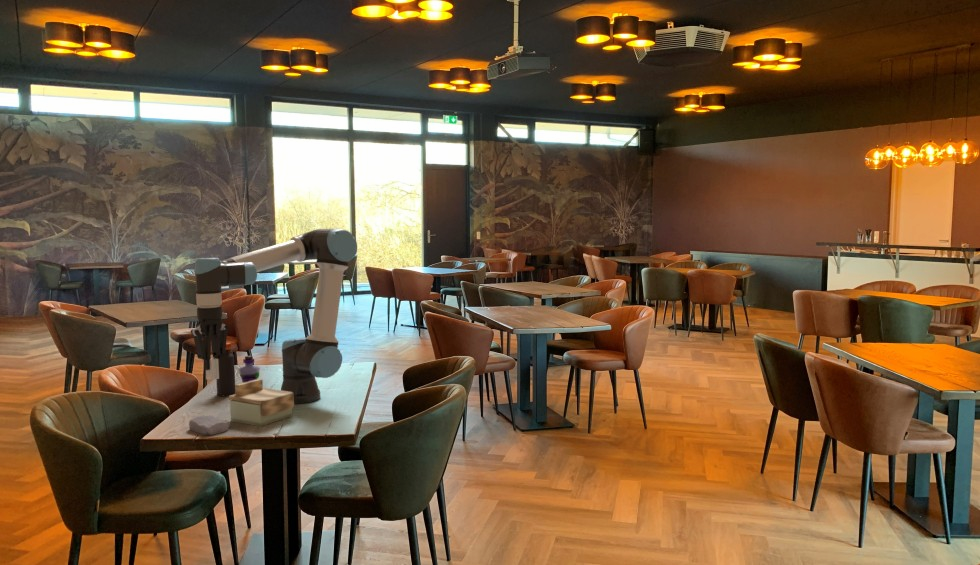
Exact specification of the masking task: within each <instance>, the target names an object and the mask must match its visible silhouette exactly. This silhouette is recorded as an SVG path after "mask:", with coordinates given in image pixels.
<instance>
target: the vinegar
mask: <svg viewBox="0 0 980 565" xmlns="http://www.w3.org/2000/svg"><path fill="white" fill-rule="evenodd" d="M231 351H232V343H231V342H226V350H225V355H222V358H220V368H219V379H215V380H216V395H217V396H219V397H229V396H230V395H234V394H236V389H235V385H236V373H235V372H236V370H235V369H236V368H235V356H234V354H233V353H232V352H231Z"/></svg>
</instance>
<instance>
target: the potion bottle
mask: <svg viewBox="0 0 980 565" xmlns="http://www.w3.org/2000/svg"><path fill="white" fill-rule="evenodd" d="M242 363H243V364H244V366H243V367H240V368H238V372H239V377H241V383H244V382H248V381H252V380H256V379H259V377H260V369H261V367H260V366H257V365H253V364H254V363H255V359H254V358H253V355H246V356H244V359H243V360H242Z"/></svg>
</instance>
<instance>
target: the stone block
mask: <svg viewBox="0 0 980 565" xmlns="http://www.w3.org/2000/svg"><path fill="white" fill-rule="evenodd" d="M230 424H231V423H230V420H227V419H224V420H223V419H220V418H219V417H216V416H213V415H198V416H195V417H193V418H191V419H190V420H189V422H188V428H189V431H192V432H195V433H196V434H200V435H203V436H212V435H216V434H218V433H219V434H220V433H222V432H223V433H224V432H227V431H228V429H229V428H230Z"/></svg>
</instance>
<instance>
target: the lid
mask: <svg viewBox="0 0 980 565" xmlns="http://www.w3.org/2000/svg"><path fill="white" fill-rule="evenodd" d="M263 382H264V381H263V379H261V378H260V379H259V378H258V379H256V380H252V381H248V382H244V383H243V382H241V383H237V384H236V383H235V392H236V393H235V394H234V395H230V396H228V400H229V401H230V400H235V401H241V402H247V403H253V404H259V405H261V404H262V416H267V415H270V414H274V413H277V412H280V411H283V410H286V409H290V408H292V409H293V408H295V404H294V393H292V392H289V391H282V390H281V389H275V388H267V387H264V386H263V385H264V384H263Z"/></svg>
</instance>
